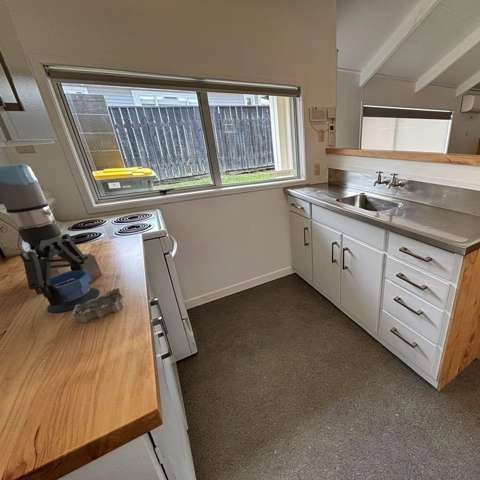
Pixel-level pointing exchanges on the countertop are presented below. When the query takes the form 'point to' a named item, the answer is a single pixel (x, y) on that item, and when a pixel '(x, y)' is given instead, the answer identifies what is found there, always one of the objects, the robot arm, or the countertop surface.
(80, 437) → the countertop surface
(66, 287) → the bowl
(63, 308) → the mat
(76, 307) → the egg carton
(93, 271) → the rack
